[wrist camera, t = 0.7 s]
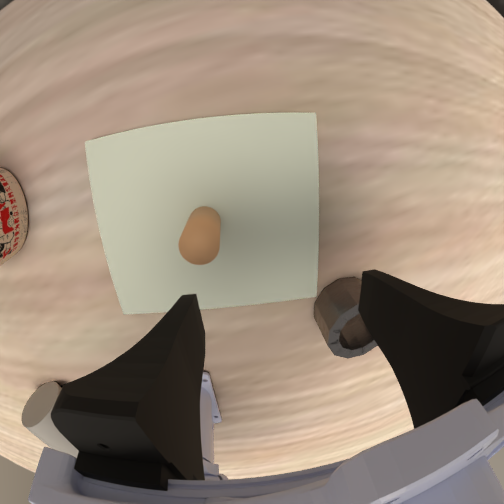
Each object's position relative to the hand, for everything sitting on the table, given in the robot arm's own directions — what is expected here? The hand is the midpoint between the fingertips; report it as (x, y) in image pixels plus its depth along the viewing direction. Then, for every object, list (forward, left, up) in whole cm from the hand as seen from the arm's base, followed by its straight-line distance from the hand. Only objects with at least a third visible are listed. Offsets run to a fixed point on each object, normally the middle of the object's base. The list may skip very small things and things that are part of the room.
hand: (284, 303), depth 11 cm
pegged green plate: (+1, +4, -10) cm, 10 cm away
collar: (-8, -7, -10) cm, 14 cm away
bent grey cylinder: (-28, +28, -10) cm, 41 cm away
